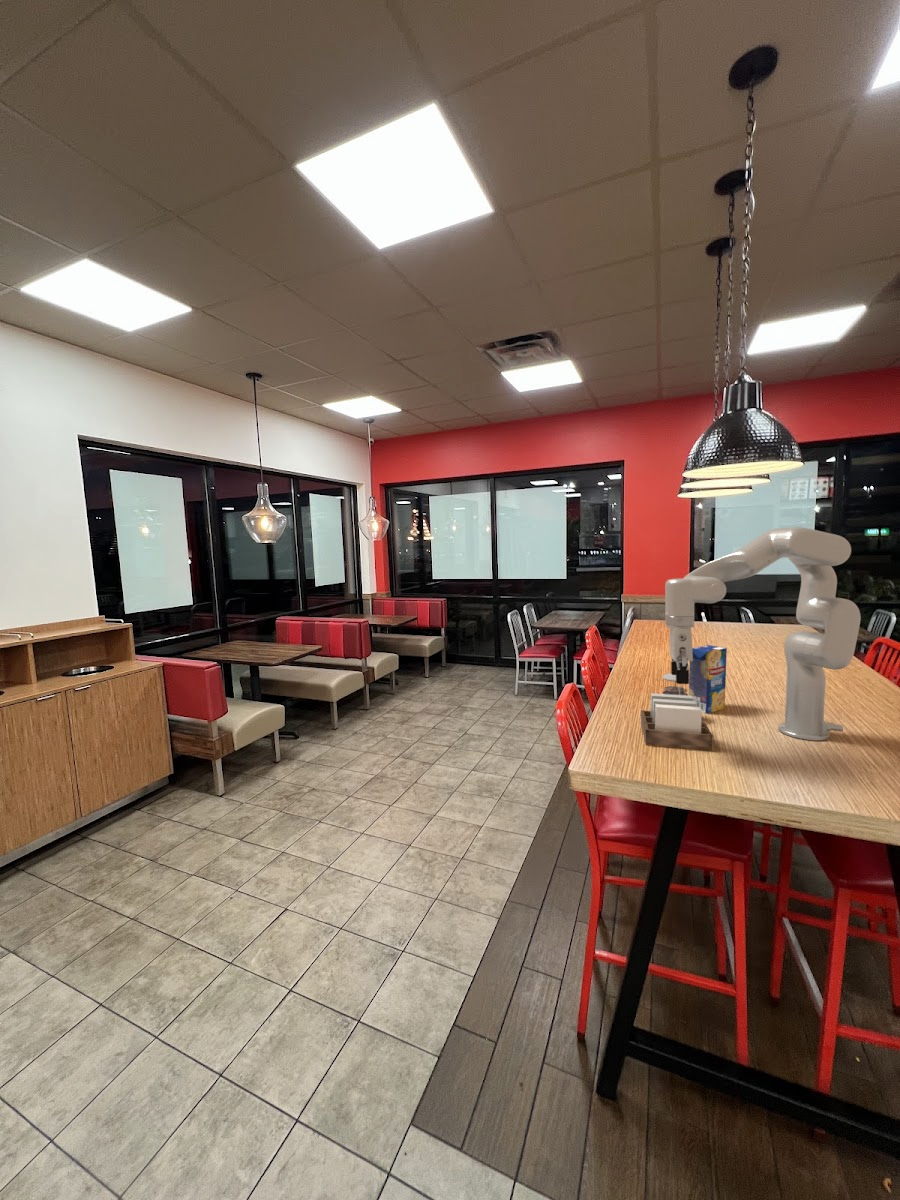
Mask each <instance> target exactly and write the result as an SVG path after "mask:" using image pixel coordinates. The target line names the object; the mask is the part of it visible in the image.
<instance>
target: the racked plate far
mask: <svg viewBox="0 0 900 1200" xmlns="http://www.w3.org/2000/svg"><path fill="white" fill-rule="evenodd" d="M653 699H667V700H683V701H693V699H694V698H693V697H692V696H689V695H688V696H686V695H670V694H663V693H650V711H651V717H652V715H653Z"/></svg>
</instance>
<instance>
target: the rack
mask: <svg viewBox="0 0 900 1200" xmlns="http://www.w3.org/2000/svg"><path fill="white" fill-rule="evenodd" d="M640 725H641V732H642V735H644V736H643V739H644V743H645V745H646V746H655V745H659V746H658V747H666V746H667V747H668V748H678V749H679V748H680V749H688V750H689V749H690V750H699V751H710V752H711V751H712V752H713V744H714V743H713V741H714V740H713V737H714V735H713V733H712V732H711V730H710V729H709V726H708V725H707V724H706V722H705V720H704V719H703V716H702V717H701V733H689V732H677V731H665V730H655V723H652V717H651V710H640ZM667 747H666V748H667Z"/></svg>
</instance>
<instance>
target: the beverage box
mask: <svg viewBox="0 0 900 1200" xmlns="http://www.w3.org/2000/svg"><path fill="white" fill-rule="evenodd" d="M727 649H728V648H727V647H722V646H715V645H709V644H706V645H700V646H697V647H692V653H693V661H692V662H689V684H688V696H692V697H693V698H694V699H693V701H695V702H696V703H697V707H700V708H701V710H702V713H703V714H710V713H713V712H717V711H720V710H723V709H725V708H726V680H727V679H726V678H727V653H728V652H727Z"/></svg>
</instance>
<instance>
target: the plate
mask: <svg viewBox="0 0 900 1200" xmlns="http://www.w3.org/2000/svg"><path fill="white" fill-rule="evenodd" d="M702 713H703V712H702V710H701V708H700V707H689V706H675V705H660V704H655V730H665V731H677V732H689V733H701V717H702V718H703V716H702V715H703V714H702Z"/></svg>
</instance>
